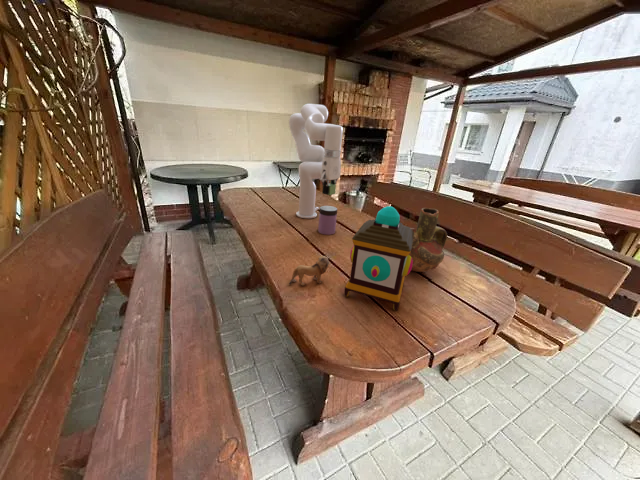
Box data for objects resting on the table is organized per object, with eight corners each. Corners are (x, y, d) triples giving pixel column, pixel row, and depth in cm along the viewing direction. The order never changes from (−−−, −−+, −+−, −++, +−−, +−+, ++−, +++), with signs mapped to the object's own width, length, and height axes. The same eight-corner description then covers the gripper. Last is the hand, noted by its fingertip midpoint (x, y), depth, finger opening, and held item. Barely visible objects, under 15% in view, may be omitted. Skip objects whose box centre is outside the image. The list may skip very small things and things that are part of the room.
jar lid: (326, 209, 139) (326, 204, 138) (340, 213, 134) (340, 208, 133) (315, 212, 132) (316, 207, 132) (330, 216, 128) (330, 212, 127)
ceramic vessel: (375, 264, 107) (385, 205, 97) (420, 254, 119) (433, 201, 109) (405, 286, 93) (420, 221, 83) (453, 273, 105) (471, 213, 95)
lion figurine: (323, 274, 98) (325, 252, 94) (330, 281, 93) (332, 259, 90) (286, 281, 91) (286, 259, 88) (291, 290, 87) (292, 266, 83)
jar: (324, 226, 143) (326, 205, 138) (338, 231, 138) (340, 209, 134) (314, 231, 137) (316, 209, 132) (328, 236, 132) (330, 213, 127)
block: (327, 192, 131) (328, 183, 129) (335, 194, 128) (336, 184, 126) (322, 193, 127) (323, 184, 126) (329, 195, 125) (330, 186, 123)
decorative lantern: (338, 297, 85) (348, 208, 73) (354, 270, 102) (364, 194, 90) (401, 316, 78) (424, 222, 66) (407, 283, 95) (426, 204, 83)
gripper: (327, 155, 112) (324, 197, 119) (348, 154, 124) (344, 192, 132) (314, 153, 116) (311, 194, 123) (335, 152, 129) (332, 189, 136)
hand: (328, 192), depth 128 cm, fingers closed on block, 4 cm apart
